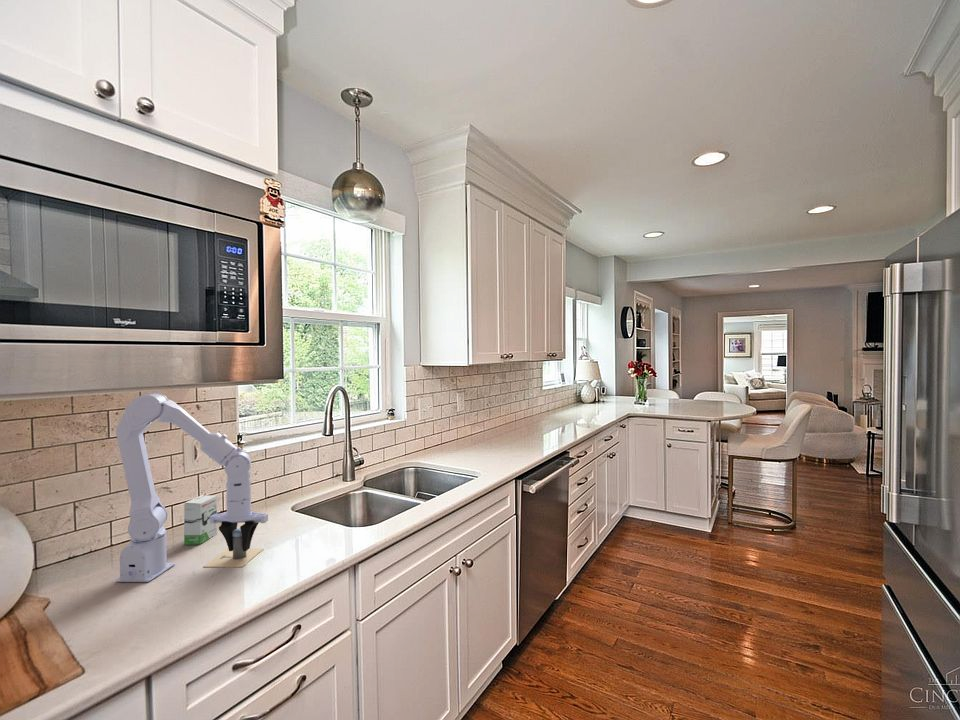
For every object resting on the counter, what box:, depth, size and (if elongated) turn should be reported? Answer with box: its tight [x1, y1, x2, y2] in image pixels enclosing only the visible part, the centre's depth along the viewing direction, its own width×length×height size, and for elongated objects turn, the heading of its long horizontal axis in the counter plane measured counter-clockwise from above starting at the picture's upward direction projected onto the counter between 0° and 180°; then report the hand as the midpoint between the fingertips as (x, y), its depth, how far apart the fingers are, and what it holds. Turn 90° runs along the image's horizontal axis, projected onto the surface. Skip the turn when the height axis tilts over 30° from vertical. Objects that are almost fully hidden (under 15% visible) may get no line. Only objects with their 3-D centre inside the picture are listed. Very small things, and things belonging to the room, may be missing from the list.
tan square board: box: [202, 548, 264, 568], centre depth 123 cm, size 11×10×1 cm
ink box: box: [183, 494, 218, 546], centre depth 136 cm, size 9×5×12 cm, turn 179°
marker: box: [232, 527, 247, 559], centre depth 123 cm, size 3×3×7 cm
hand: (239, 549), depth 123 cm, fingers closed on marker, 3 cm apart
